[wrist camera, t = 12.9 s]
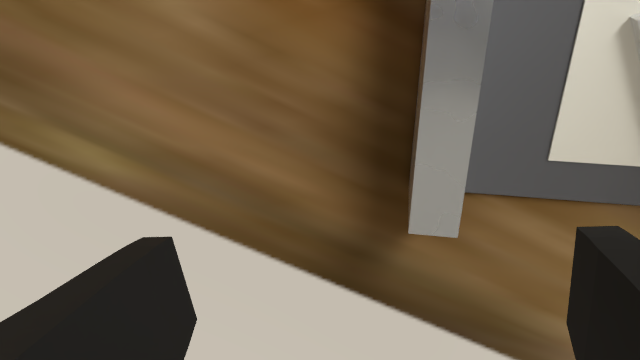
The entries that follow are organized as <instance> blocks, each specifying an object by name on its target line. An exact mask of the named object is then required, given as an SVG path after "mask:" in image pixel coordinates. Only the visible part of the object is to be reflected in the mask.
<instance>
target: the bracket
mask: <svg viewBox="0 0 640 360" xmlns="http://www.w3.org/2000/svg"><path fill="white" fill-rule="evenodd" d="M630 20H631V25H632V30H633V34H634V39H635V43H636V48H637V53H638V57H639V62H640V13H638V14H635V15H633V16H630Z"/></svg>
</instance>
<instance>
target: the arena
mask: <svg viewBox="0 0 640 360" xmlns="http://www.w3.org/2000/svg"><path fill="white" fill-rule="evenodd" d="M638 13H640V0H426V9H425V19H424V30H423V41H422V51H421V62H420V73H419V83H418V94H417V105H416V115H415V126H414V137H413V147H412V158H411V169H410V179H409V218H408V233H409V234H420V235H431V236H443V237H454V238H458V232H459V225H460V219H461V212H462V206H463V199H464V193H465V192H468V193H481V194H495V195H508V196H521V197H534V198H547V199H560V200H573V201H586V202H599V203H613V204H626V205H639V206H640V62H639V57H638V53H637V48H636V43H635V39H634V34H633V30H632V25H631V20H630V16H633V15H635V14H638Z"/></svg>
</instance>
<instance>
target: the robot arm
mask: <svg viewBox="0 0 640 360" xmlns="http://www.w3.org/2000/svg"><path fill="white" fill-rule="evenodd" d="M196 321H197V317H196V314H195V311H194V308H193V304H192V301H191V298H190V294H189V291H188V288H187V285H186V281H185V278H184V275H183V272H182V268H181V265H180V262H179V259H178V255H177V252H176V249H175V246H174V242H173V239H172V237H143V238H141V239H139V240H137V241H135V242H133V243H131V244H129V245H127V246H125V247H124V248H122V249H120V250H118V251H117V252H115V253H113V254H112V255H110V256H108V257H107V258H105V259H103V260H102V261H100V262H98V263H97V264H95V265H94V266H92V267H90V268H89V269H87V270H86V271H84V272H82V273H81V274H79V275H78V276H76V277H74V278H73V279H71V280H70V281H68V282H66V283H65V284H63V285H62V286H60V287H58V288H57V289H55V290H54V291H52V292H51V293H49V294H47V295H46V296H44V297H43V298H41V299H39V300H38V301H36V302H34V303H32V304H31V305H29V306H27V307H26V308H24V309H22V310H21V311H19V312H17V313H15V314H14V315H12V316H10V317H9V318H7V319H5V320H3V321H2V322H0V360H184V357H185V355H186V352H187V349H188V346H189V343H190V340H191V337H192V333H193V330H194V327H195V324H196ZM567 327H568V331H569V335H570V339H571V342H572V346H573V350H574V354H575V358H576V360H640V240H639V239H637V238H636V237H634V236H633V235H631V234H630V233H628V232H627V231H625V230H623V229H622V228H620V227H619V226H598V227H577V231H576V240H575V249H574V258H573V268H572V277H571V286H570V296H569V305H568V314H567Z"/></svg>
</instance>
